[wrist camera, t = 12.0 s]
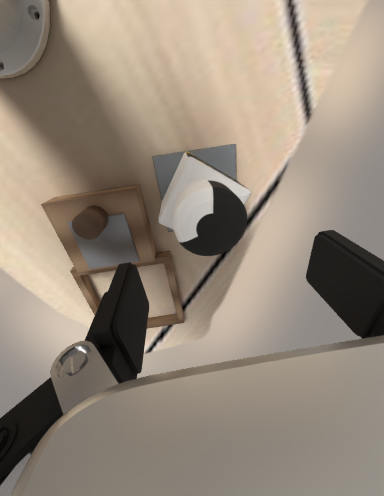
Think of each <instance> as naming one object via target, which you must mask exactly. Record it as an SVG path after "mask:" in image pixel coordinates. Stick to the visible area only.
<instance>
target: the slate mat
mask: <svg viewBox="0 0 384 496" xmlns="http://www.w3.org/2000/svg"><path fill="white" fill-rule="evenodd" d="M185 152H189V153H191V154H193V155H194V156H196V157H198V158H200V159H201V160H203V161H205V162H206V163H208V164H210V165H212V166H213V167H215V168H217V169H218V170H220V171H222V172H224V173H225V174H227V175H229V176H230V177H232V178H234V179H235V180H236V144H231V145H225V146H218V147H211V148H205V149H198V150H192V151H185ZM185 152H179V153H172V154H165V155H159V156H153V161H154V166H155V171H156V175H157V180H158V185H159V190H160V194H161V199H162V200H163V198H164V196H165V194H166V192H167V189H168V187H169V185H170V183H171V181H172V178H173V176H174V174H175V172H176V170H177V168H178V165H179V163H180V161H181V159H182V157H183V154H184V153H185ZM171 231H174V230H173V229H171V228H168V232H171Z"/></svg>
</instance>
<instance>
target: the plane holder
mask: <svg viewBox="0 0 384 496" xmlns="http://www.w3.org/2000/svg"><path fill="white" fill-rule="evenodd" d="M41 205H42V207H43V209H44V211H45V212H46V214H47V216H48V218H49V220H50V222H51V224H52V226H53V227H54V229H55V231H56V233H57V235H58V237H59V239H60V240H61V242H62V244H63V246H64V248H65V250H66V252H67V254H68V255H69V257H70V259H71V261H72V263H73V265H74V267H73V268H72V270H71V271H70V272H71V273H72V275H73V277H74V279H75V281H76V282H77V284H78V286H79V288H80V290H81V291H82V293H83V295H84V297H85V299H86V300H87V302H88V304H89V306H90V308H91V309H92V311H93V313H94V315H95V314H96V312H97V309H98V307H99V304H100V301H99V299H98V297H97V295H96V293H95V291H94V289H93V287H92V285H91V283H90V281H89V279H88V277H87V275H86V274H93V273H100V272H106V271H113V270H117V267H118V265H119V264H122V263H128V262H131V263H132V265H133V264H135V265H136V267H139V266H146V265H152V264H159V263H164V264H165V268H166V272H167V276H168V280H169V284H170V288H171V292H172V296H173V301H174V305H175V309H176V313H177V314H172V315H166V316H159V317H152V318H148V321H147V328H153V327H159V326H166V325H173V324H179V323H184V314H183V309H182V305H181V300H180V295H179V291H178V286H177V282H176V277H175V273H174V268H173V264H172V259H171V255H170V251H167V252H161V253H156V247H155V243H154V240H153V236H152V232H151V228H150V224H149V220H148V217H147V213H146V209H145V205H144V201H143V197H142V194H141V190H140V186H139V185H133V186H127V187H120V188H114V189H107V190H100V191H94V192H87V193H81V194H74V195H67V196H61V197H55V198H53V199H51V200H49V201H47V202H45V203H43V204H41Z"/></svg>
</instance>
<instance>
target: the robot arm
mask: <svg viewBox="0 0 384 496" xmlns="http://www.w3.org/2000/svg"><path fill="white" fill-rule="evenodd" d="M38 15H40V16H39V19H38V18H37V16H38ZM49 29H50V7H49V0H0V78H1V79H3V78H14V77H17V76H19V75H22V74H25V73H26V72H27V71H29V70H30V69H31V68H33V67H34V66H35V65H36V63H37V62H38V60H39V59H40V58H41V56H42V54H43V52H44V49H45V47H46V44H47V40H48V34H49ZM3 65H4V67H3ZM306 279H307V281H308V283H309V284H310V285H311V286H312V287H313V288H314V289H315V290H316V291H317V292H318V294H319V295H320V296H321V297H322V298H323V299H324V300H325V301H326V302H327V304H329V306H330V307H331V308H332V309H333V310H334V311H335V312H336V313H337V315H338V316H339V317H340V318H341V319H342V320H343V321H344V322H345V323H346V324H347V326H348V327H349V328H350V329H351V330H352V331H353V332H354V333H355V334H356V335H358V336H360V337H361V338H362V339H358V340H352V341H346V342H340V343H333V344H328V345H322V346H316V347H309V348H304V349H297V350H291V351H286V352H279V353H274V354H267V355H261V356H256V357H250V358H244V359H238V360H232V361H227V362H221V363H215V364H209V365H204V366H198V367H192V368H187V369H182V370H176V371H171V372H166V373H160V374H155V375H150V376H146V377H142V378H138V379H137V374H138V373H140V372H141V369H142V362H143V354H144V345H145V337H146V329H147V321H148V313H149V302H148V299H147V296H146V293H145V290H144V287H143V284H142V281H141V278H140V276H139V273H138V270H137V267H136V265H135V264H133V265H132V263H131V262H128V263H122V264H119V265H118V267H117V270H116V272H115V275H114V277H113V280H112V282H111V285H110V288H109V290H108V292H106V293H104V295H103V297H102V300H101V302H100V304H99V307H98V309H97V312H96V314H95V317H94V319H93V322H92V324H91V326H90V329H89V331H88V334H87V336H86V339H85V341H80V342H77V343H74V344H72V345H71V346H69V347H67V348H66V349H65V350H64V351H62V352H61V353H60V355H59V356H58V357H57V358H56V360H55V361H54V363H53V365H52V368H51V371H50V373H51V377H50V378H49V379H48V380H47V381H46V382H44V383H43V384H42V385H41V386H39V387H38V388H37V389H36V390H34V392H32V393H31V394H30V395H28V396H27V397H26V398H25V399H23V400H22V401H21V402H20V403H18V404H17V405H16V406H15V407H14V408H12V409H11V410H10V411H9V412H8V413H6V414H5V415H4V416H3V417H1V418H0V496H384V261H383V260H382V259H380V258H378V257H377V256H375V255H373V254H372V253H370V252H368V251H367V250H365V249H363V248H362V247H360V246H359V245H357V244H355V243H354V242H352V241H350V240H349V239H347V238H345V237H344V236H342V235H340V234H339V233H337V232H335V231H334V230H328V231H322V232H319V233H318V235H316V236H315V239H314V243H313V248H312V252H311V256H310V260H309V265H308V269H307V274H306Z"/></svg>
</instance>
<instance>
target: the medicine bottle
mask: <svg viewBox="0 0 384 496" xmlns="http://www.w3.org/2000/svg"><path fill="white" fill-rule="evenodd" d="M250 195H251V191H250V190H249V189H247V188H246V187H245V186H243V185H242V184H240V183H239V182H238V181H236V180H235V179H234V178H232V177H230V176H229V175H227V174H225V173H224V172H222V171H220V170H218V169H217V168H215V167H213V166H212V165H210V164H208V163H206V162H205V161H203V160H201V159H200V158H198V157H196V156H194V155H193V154H191V153H189V152H185V153H184V154H183V157H182V159H181V161H180V163H179V165H178V168H177V170H176V172H175V174H174V176H173V178H172V181H171V183H170V185H169V187H168V189H167V192H166V194H165V196H164V198H163V200H162V204H161V209H160V214H159V219H158V222H159V223H160V224H161V225H164V226H166V227H168V228H171V229H173V230H174V232H175V235H176V237H177V239H178V241H179V242H180V244H181V245H182V246H183V247H184V248H185V249H187V250H188V251H190V252H192V253H194V254H197V255H202V256H213V255H218V254H221V253H223V252H226V251H227V250H229V249H231V248H232V247H233V246H234V245H236V244H237V242H238V241H239V240H240V239H241V237H242V236H243V233H244V231H245V228H246V224H247V213H246V209H245V207H244V204H245V203H246V201H247V200H248V198H249V197H250Z"/></svg>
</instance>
